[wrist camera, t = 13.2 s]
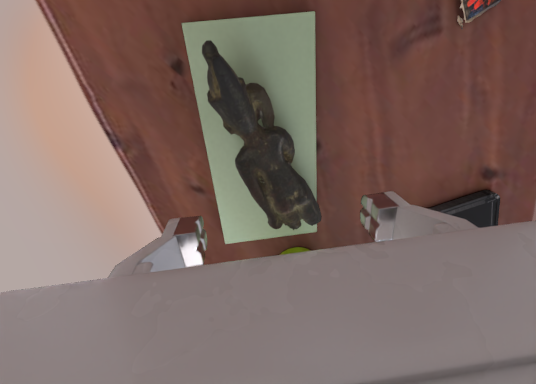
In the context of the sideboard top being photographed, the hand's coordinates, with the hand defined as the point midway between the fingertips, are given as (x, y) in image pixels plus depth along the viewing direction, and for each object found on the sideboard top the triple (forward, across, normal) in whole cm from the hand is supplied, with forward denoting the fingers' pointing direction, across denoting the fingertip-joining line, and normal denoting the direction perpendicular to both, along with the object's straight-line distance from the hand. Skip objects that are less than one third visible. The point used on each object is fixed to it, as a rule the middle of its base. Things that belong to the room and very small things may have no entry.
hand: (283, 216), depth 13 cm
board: (+15, 0, 0) cm, 15 cm away
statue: (+14, 0, 0) cm, 14 cm away
